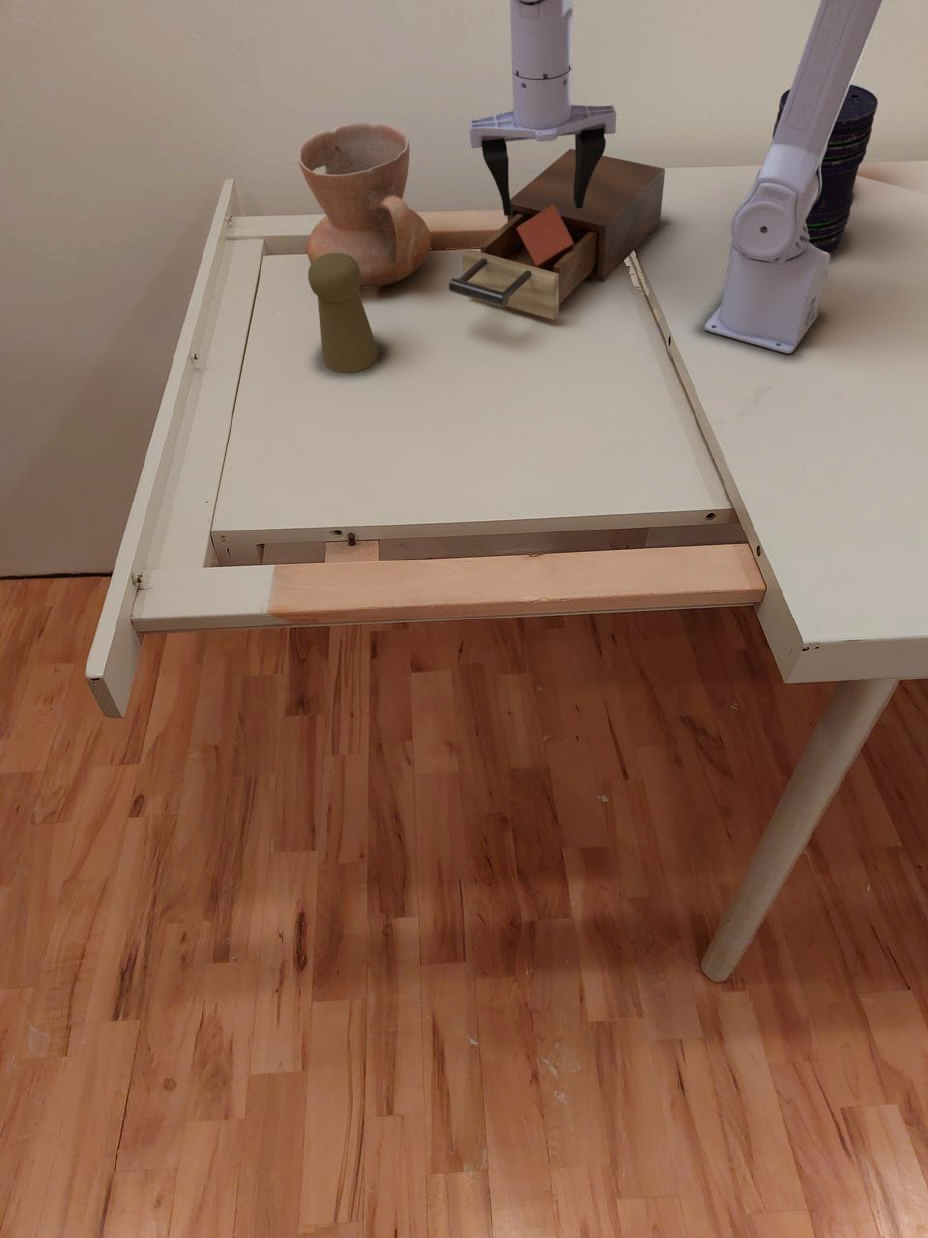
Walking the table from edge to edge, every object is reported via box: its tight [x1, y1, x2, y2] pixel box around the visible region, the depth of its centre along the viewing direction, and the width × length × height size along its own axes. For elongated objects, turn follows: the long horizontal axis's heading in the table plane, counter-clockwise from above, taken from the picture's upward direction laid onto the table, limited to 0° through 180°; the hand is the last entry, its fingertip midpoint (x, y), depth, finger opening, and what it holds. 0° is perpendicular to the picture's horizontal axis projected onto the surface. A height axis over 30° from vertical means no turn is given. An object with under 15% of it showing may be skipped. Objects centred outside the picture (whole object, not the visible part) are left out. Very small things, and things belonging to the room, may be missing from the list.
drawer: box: [448, 212, 599, 320], centre depth 98 cm, size 20×11×5 cm, turn 146°
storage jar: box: [770, 84, 879, 255], centre depth 99 cm, size 10×10×15 cm
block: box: [517, 204, 575, 269], centre depth 98 cm, size 4×4×4 cm
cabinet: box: [506, 148, 666, 283], centre depth 105 cm, size 15×13×7 cm
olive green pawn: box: [307, 253, 379, 374], centre depth 92 cm, size 6×6×11 cm
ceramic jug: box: [297, 122, 432, 289], centre depth 102 cm, size 18×14×14 cm
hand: (542, 207), depth 96 cm, fingers open, 7 cm apart
